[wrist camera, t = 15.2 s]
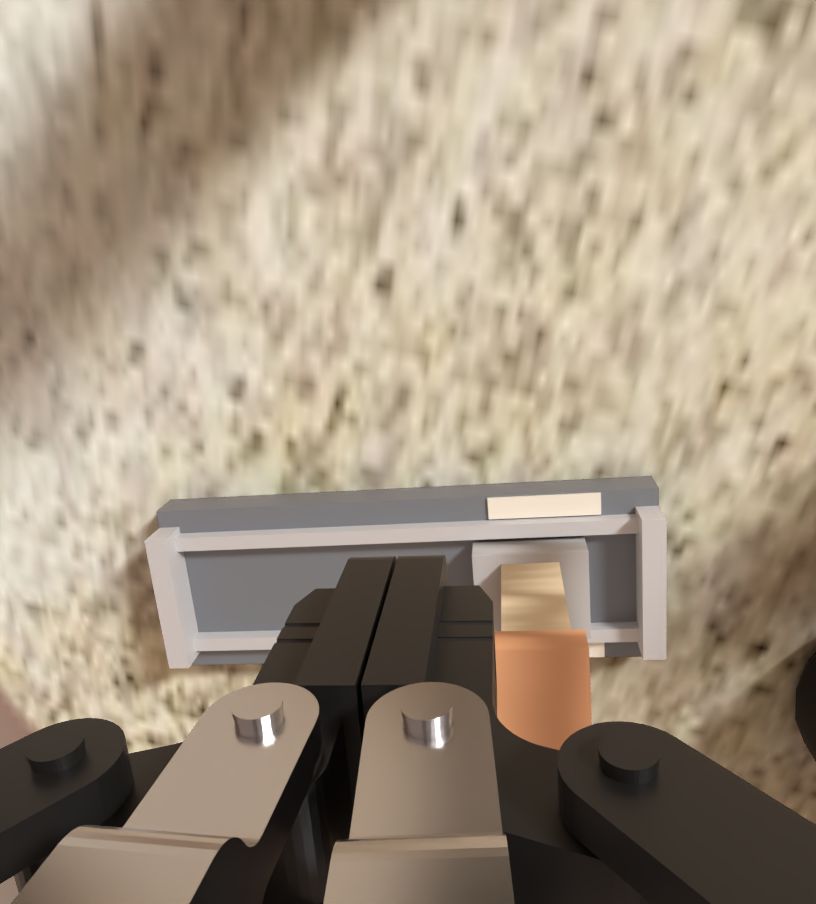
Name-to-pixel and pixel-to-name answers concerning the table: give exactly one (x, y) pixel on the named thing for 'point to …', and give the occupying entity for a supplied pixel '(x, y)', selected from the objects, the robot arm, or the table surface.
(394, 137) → the table surface
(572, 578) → the slider
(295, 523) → the track
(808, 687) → the coffee jar
